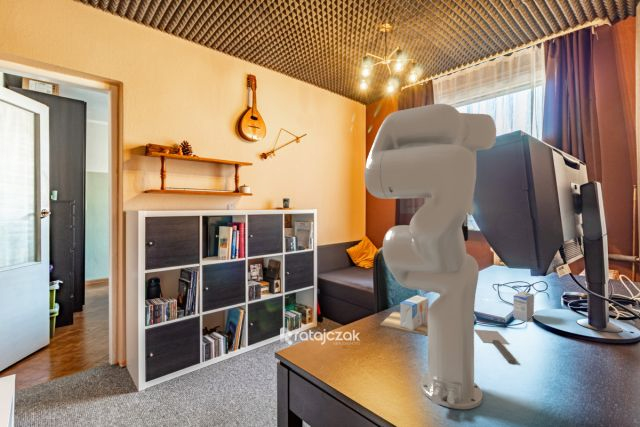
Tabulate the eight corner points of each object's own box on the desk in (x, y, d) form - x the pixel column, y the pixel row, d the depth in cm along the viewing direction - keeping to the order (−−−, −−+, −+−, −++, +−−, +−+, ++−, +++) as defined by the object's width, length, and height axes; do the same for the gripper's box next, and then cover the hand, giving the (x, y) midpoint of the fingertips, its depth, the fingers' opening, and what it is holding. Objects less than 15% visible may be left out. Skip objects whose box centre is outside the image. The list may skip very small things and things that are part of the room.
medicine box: (520, 313, 115) (520, 291, 115) (534, 316, 111) (534, 293, 111) (513, 318, 110) (513, 295, 110) (527, 322, 106) (527, 297, 106)
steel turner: (527, 364, 77) (527, 361, 77) (497, 362, 79) (497, 358, 79) (497, 332, 98) (497, 329, 98) (474, 330, 99) (474, 327, 99)
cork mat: (427, 335, 96) (427, 333, 96) (380, 325, 104) (380, 324, 104) (436, 320, 108) (436, 319, 108) (393, 312, 117) (393, 311, 117)
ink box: (413, 305, 98) (432, 295, 108) (399, 302, 101) (419, 292, 112) (413, 331, 98) (432, 318, 109) (399, 326, 102) (419, 315, 112)
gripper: (473, 171, 74) (474, 244, 75) (478, 176, 87) (478, 238, 87) (441, 173, 78) (442, 242, 79) (450, 177, 91) (451, 237, 91)
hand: (461, 240), depth 83 cm, fingers closed
